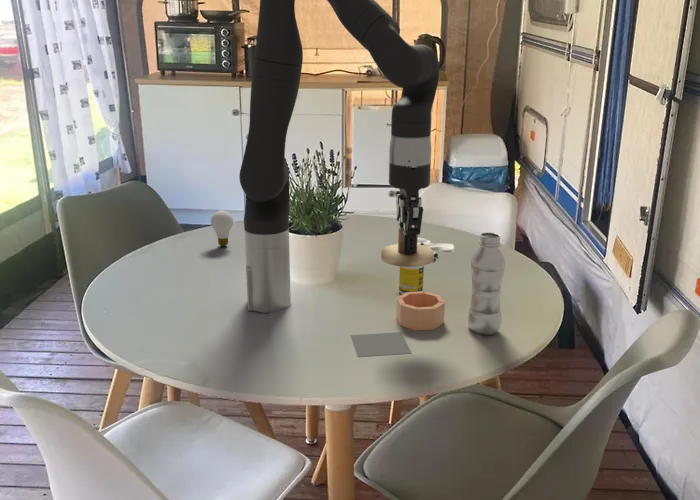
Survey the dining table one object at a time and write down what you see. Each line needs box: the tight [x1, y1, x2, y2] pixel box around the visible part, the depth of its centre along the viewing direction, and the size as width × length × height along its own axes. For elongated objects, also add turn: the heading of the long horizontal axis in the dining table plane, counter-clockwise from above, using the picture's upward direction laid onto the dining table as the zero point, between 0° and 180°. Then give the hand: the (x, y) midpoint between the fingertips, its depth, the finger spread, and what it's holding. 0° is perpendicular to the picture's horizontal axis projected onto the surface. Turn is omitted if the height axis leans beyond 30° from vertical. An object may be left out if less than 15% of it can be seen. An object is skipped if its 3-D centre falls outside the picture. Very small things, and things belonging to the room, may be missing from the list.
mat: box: [350, 331, 412, 358], centre depth 128 cm, size 10×9×1 cm
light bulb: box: [210, 210, 234, 248], centre depth 183 cm, size 6×6×10 cm
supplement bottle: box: [398, 265, 425, 295], centre depth 153 cm, size 5×5×10 cm
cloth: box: [396, 237, 456, 263], centre depth 181 cm, size 20×22×2 cm
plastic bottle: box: [466, 232, 506, 336], centre depth 132 cm, size 6×7×20 cm
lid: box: [380, 226, 435, 267], centre depth 128 cm, size 10×10×6 cm
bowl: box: [395, 291, 446, 331], centre depth 138 cm, size 9×9×5 cm
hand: (407, 249), depth 129 cm, fingers closed on lid, 3 cm apart
